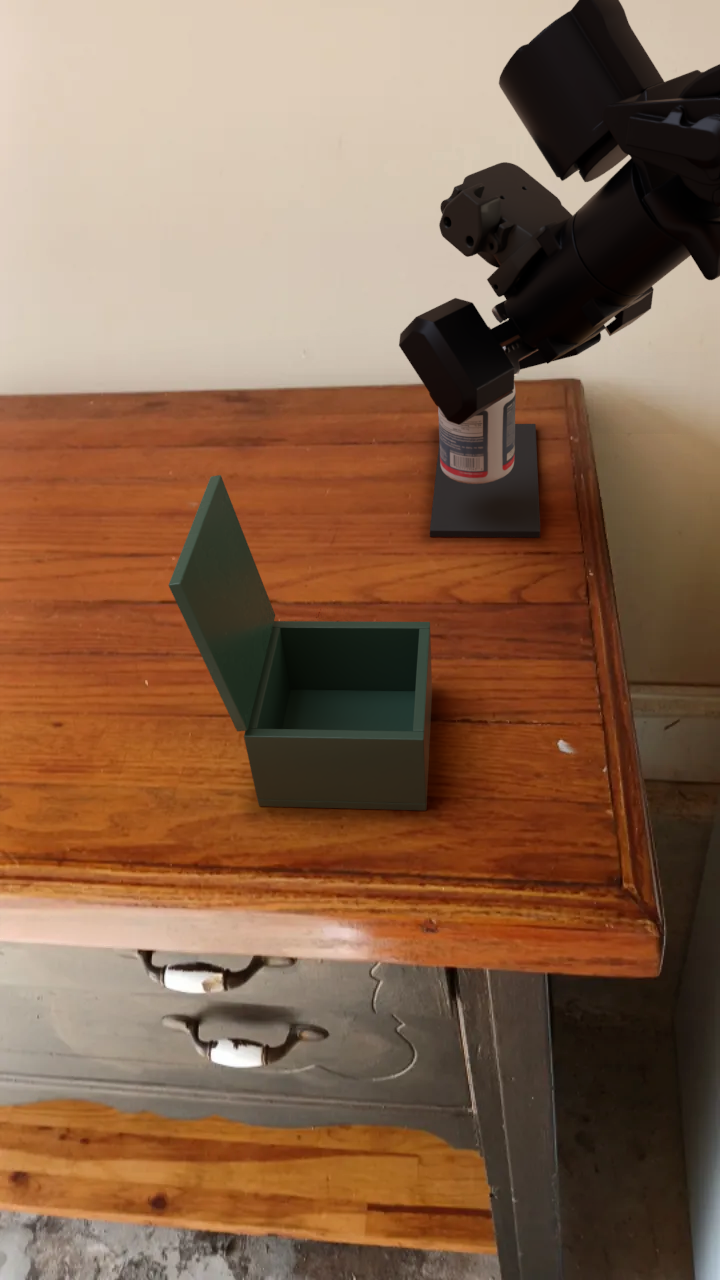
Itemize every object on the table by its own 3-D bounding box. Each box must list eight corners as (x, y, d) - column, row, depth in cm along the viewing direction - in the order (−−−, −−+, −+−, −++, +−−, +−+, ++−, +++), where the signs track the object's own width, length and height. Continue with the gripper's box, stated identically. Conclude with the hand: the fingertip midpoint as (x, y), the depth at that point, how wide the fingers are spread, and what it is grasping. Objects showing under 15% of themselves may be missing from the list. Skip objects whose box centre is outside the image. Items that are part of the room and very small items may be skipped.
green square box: (432, 691, 58) (430, 621, 55) (426, 811, 51) (423, 739, 48) (283, 689, 59) (271, 620, 56) (258, 806, 52) (243, 736, 49)
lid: (220, 474, 49) (210, 476, 49) (179, 583, 42) (167, 585, 43) (275, 615, 55) (266, 616, 55) (247, 731, 48) (236, 732, 49)
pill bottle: (490, 441, 71) (491, 325, 65) (528, 472, 67) (532, 352, 62) (427, 461, 70) (422, 344, 64) (462, 493, 66) (460, 372, 60)
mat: (539, 538, 70) (540, 531, 69) (429, 537, 71) (429, 530, 70) (535, 429, 81) (535, 423, 81) (441, 430, 83) (440, 424, 82)
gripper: (631, 85, 56) (484, 244, 70) (417, 164, 47) (295, 330, 60) (732, 247, 57) (567, 373, 70) (540, 357, 48) (392, 478, 61)
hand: (461, 384), depth 66 cm, fingers closed on pill bottle, 5 cm apart
